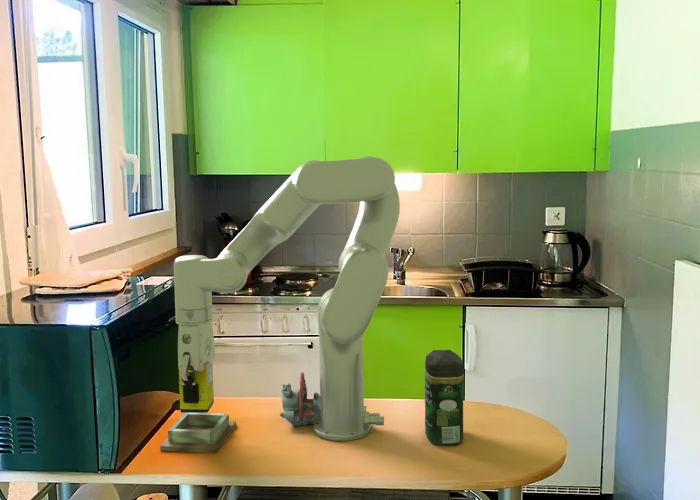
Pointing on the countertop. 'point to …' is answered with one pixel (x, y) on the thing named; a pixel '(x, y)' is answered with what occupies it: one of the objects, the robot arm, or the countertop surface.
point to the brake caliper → (300, 405)
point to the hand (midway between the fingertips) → (197, 395)
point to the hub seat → (199, 433)
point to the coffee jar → (444, 397)
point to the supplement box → (204, 391)
